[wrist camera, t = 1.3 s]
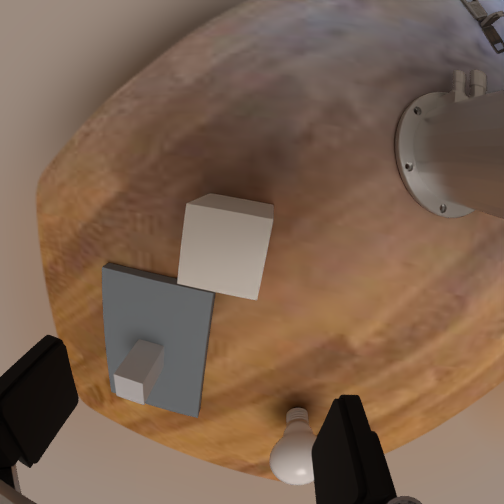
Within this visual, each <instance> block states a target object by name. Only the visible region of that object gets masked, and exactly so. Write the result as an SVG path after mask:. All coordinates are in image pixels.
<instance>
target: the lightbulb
mask: <svg viewBox="0 0 504 504" xmlns="http://www.w3.org/2000/svg"><path fill="white" fill-rule="evenodd" d="M286 423H287V424H286V429H285V431H284V434H283V437H282V438H281V439H280V440H279V441H278V442H277V443H276V444H275V446H274V447H273V449H272V451H271V454H270V467H271V470H272V472H273V473H274V475H275V476H276V477H277V478H278V479H279V480H281V481H282V482H285V483H287V484H290V485H305V484H308V483H311V482H313V481H314V474H313V465H312V456H311V451H312V446H313V444H314V442H315V440H316V438H317V436H316V435H314V434H313V431H312V429H311V427H310V426H309V421H308V412H307V411H306V410H305V409H303V408H293V409H291V410H289V411H288V412H287V414H286Z"/></svg>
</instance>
